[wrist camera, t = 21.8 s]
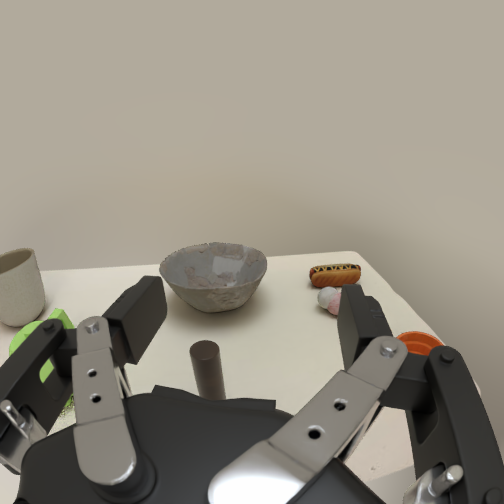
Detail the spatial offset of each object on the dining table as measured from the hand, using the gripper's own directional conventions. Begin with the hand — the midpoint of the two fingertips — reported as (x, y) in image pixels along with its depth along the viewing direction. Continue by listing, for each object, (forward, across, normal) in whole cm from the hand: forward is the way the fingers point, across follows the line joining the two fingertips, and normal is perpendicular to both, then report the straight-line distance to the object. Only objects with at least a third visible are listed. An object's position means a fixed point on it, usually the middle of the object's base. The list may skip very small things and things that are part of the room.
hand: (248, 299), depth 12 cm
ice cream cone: (+38, -14, +28) cm, 49 cm away
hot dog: (+52, -13, +28) cm, 61 cm away
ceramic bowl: (+42, +14, +28) cm, 53 cm away
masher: (+9, +6, +27) cm, 29 cm away
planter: (+26, +62, +28) cm, 73 cm away
